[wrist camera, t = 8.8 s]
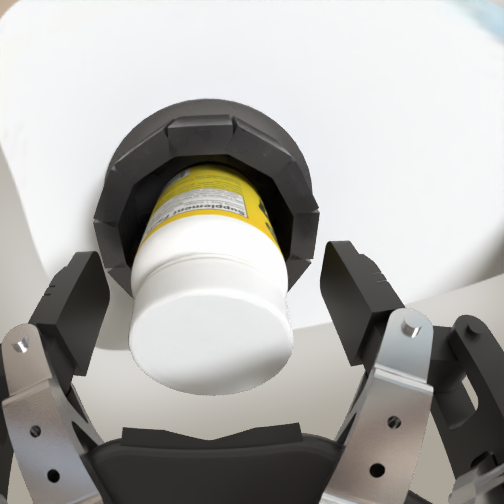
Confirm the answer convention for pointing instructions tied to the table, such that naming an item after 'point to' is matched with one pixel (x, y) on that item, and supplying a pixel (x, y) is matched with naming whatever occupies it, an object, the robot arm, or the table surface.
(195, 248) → the supplement bottle
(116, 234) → the barrel ring
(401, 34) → the table surface
